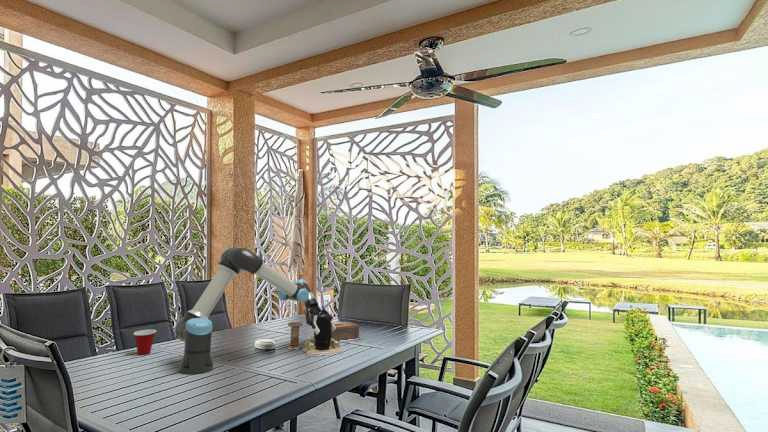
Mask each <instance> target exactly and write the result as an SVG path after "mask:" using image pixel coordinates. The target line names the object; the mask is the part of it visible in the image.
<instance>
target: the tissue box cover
mask: <svg viewBox="0 0 768 432" xmlns="http://www.w3.org/2000/svg"><path fill="white" fill-rule="evenodd" d="M333 323H334V326H335V328H336V329H335V330H334V331H332V329H331V338H333V339H334V340H336V341H340V340H348V339H356V338H359V339H360V324H357V323H354V322H353V321H352V322H351V321H340V322H337V321H336V322H333ZM313 339H315V331H314V330H313Z"/></svg>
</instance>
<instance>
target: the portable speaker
mask: <svg viewBox="0 0 768 432" xmlns="http://www.w3.org/2000/svg"><path fill="white" fill-rule="evenodd" d="M319 314H320V313H319ZM319 314H318V315H316V320H315V323H316V325H317V327H318V329H319V331H320V332H319V333H318V334H316V333H315V346H316V349H317V350H323V349H327V350H328V349H329V346H330V342H331V327H332V324H331V316H332V315H331V314H330V313H329V314H330V315H331V316H330V315H329V314H322V315H319Z"/></svg>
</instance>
